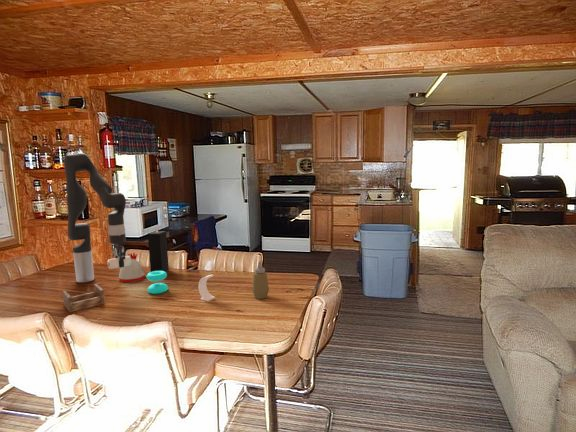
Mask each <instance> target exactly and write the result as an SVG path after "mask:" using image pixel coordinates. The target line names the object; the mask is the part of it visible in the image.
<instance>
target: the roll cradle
mask: <svg viewBox="0 0 576 432" xmlns="http://www.w3.org/2000/svg"><path fill="white" fill-rule="evenodd" d="M62 296H63V297H62V299H63V306H64V308H65V309H66V310H67V311H68V312H69V313H72V312H77V311H80V310H85V309H88V308H93V307H96V306H100V305H105V293H104V288H102V287H101V286H100V285H98V283H93V291H91V292H88V293H83V294H78V295H74V296H71V295H70V294H69V292H67V290H62Z"/></svg>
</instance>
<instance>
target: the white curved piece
mask: <svg viewBox="0 0 576 432" xmlns="http://www.w3.org/2000/svg"><path fill="white" fill-rule="evenodd" d="M212 277H214V274H209V275H205V276H203V277H202V278H201V277H200V279H199V282H198V286H197V287H198V292H199V294H200V296H201V297H200V300H201V301H204V302H210V301H212V300H215V299H216V297H215V296H214V295H212V294H211V293H210V292H209V289H208V287H207V281H208V279H210V278H212Z"/></svg>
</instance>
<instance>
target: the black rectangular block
mask: <svg viewBox="0 0 576 432" xmlns="http://www.w3.org/2000/svg"><path fill="white" fill-rule="evenodd" d="M159 229H160V227H158V226H154V230H153V231H151V232H148V233H147V243H148V254H149V266H150V269H149V270H150V272H153V271H165V272H166V273H167V272H168V271H169V270H170V268H169V253H168V241H167V239H168V238H167V230H166V231H165V230H159Z"/></svg>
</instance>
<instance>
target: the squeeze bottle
mask: <svg viewBox="0 0 576 432" xmlns="http://www.w3.org/2000/svg"><path fill="white" fill-rule="evenodd" d="M254 271H255V272H254V273H253V274H252V294H253V296H254V298H255V299H256V300H263V299H264V300H265V299H267V297H268V294H269V291H270V286H269V281H268V280H269V279H268V275H267V274H268V273H267V272H266V268H264V267H263V264H262V261H261V260H258V262H257V267H256V268H255V269H254Z"/></svg>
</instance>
